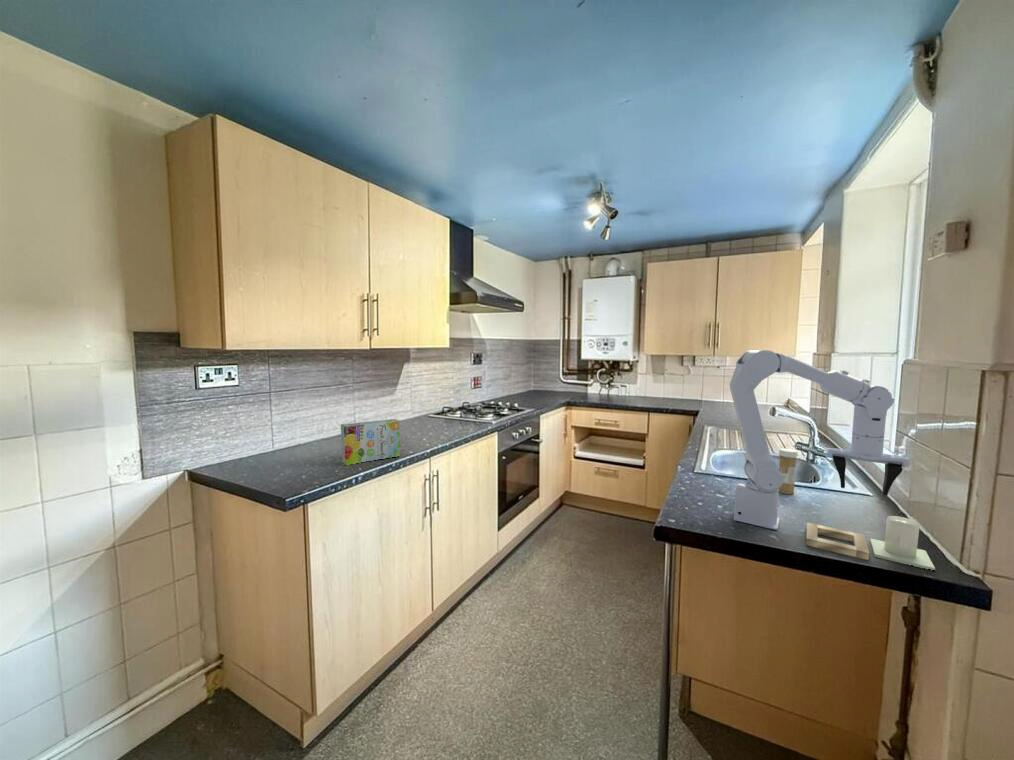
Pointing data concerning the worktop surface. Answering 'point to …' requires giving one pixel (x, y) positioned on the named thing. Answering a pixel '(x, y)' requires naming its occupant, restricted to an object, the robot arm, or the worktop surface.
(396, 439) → the snack box
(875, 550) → the sage board
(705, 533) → the worktop surface
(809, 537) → the collar
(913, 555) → the jug
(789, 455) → the sprinkles bottle
